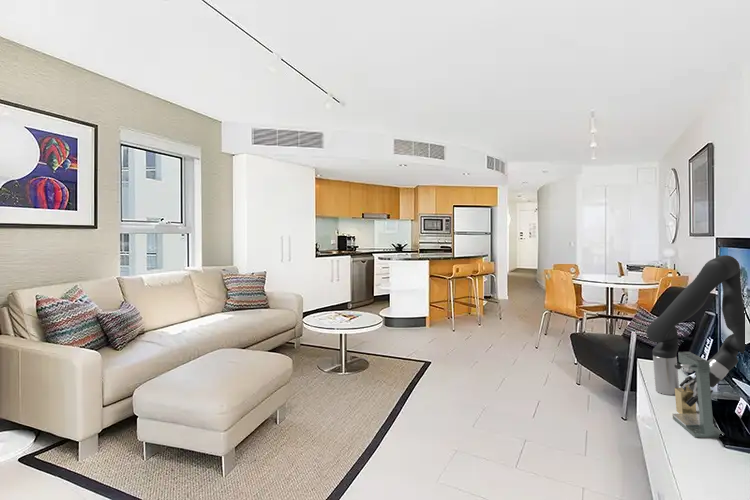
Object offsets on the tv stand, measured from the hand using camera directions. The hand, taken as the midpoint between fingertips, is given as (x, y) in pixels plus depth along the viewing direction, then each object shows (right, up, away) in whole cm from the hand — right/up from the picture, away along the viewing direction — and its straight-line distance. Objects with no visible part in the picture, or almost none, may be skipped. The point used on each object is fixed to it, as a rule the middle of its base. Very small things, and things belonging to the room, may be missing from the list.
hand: (682, 400), depth 170 cm
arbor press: (-5, -6, -12) cm, 14 cm away
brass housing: (+2, -5, 0) cm, 5 cm away
